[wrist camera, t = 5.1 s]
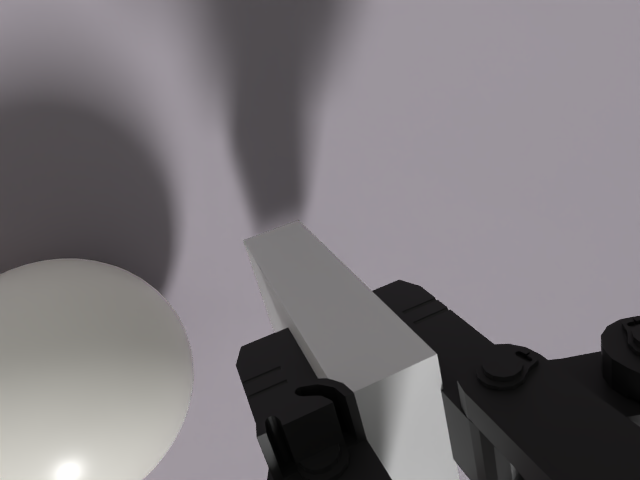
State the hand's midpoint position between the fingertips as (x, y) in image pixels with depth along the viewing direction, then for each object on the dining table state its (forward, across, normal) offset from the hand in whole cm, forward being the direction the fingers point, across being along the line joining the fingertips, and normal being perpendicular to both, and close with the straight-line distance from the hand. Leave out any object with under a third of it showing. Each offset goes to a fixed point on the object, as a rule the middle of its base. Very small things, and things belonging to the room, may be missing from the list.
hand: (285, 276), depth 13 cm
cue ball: (-1, +6, 0) cm, 6 cm away
